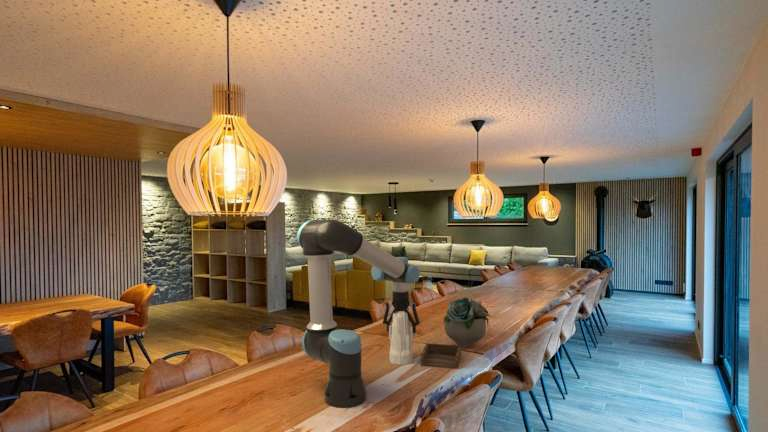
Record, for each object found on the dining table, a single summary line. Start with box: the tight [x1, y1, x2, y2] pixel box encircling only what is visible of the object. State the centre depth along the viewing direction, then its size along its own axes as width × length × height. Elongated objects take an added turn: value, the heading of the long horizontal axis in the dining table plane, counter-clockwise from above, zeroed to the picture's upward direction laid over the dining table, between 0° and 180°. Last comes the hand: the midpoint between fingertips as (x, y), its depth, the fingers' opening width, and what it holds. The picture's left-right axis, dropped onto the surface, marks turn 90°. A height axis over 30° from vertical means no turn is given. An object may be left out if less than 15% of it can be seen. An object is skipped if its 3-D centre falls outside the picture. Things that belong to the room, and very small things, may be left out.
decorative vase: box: [388, 307, 414, 366], centre depth 187 cm, size 11×11×25 cm
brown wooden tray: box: [420, 343, 462, 370], centre depth 186 cm, size 17×16×5 cm
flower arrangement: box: [443, 297, 491, 348], centre depth 210 cm, size 25×25×24 cm
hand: (401, 339), depth 187 cm, fingers closed on decorative vase, 9 cm apart
